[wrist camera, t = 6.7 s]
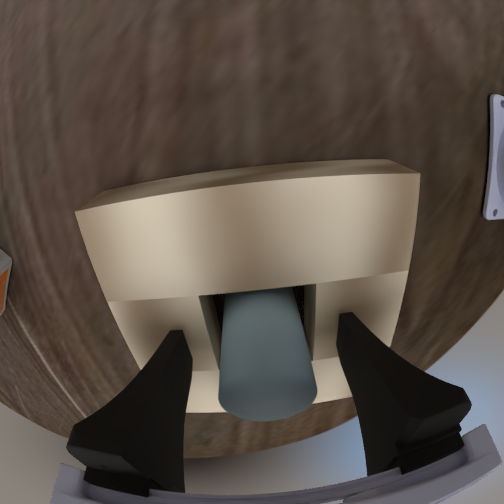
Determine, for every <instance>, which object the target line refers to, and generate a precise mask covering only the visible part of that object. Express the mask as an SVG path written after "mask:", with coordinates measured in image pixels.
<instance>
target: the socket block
mask: <svg viewBox="0 0 504 504" xmlns="http://www.w3.org/2000/svg"><path fill="white" fill-rule="evenodd" d="M419 187H420V173H418V172H416V171H414V170H412V169H409V168H407V167H405V166H403V165H400V164H398V163H396V162H393V161H391V160H389V159H363V160H332V161H313V162H298V163H285V164H273V165H263V166H253V167H243V168H235V169H227V170H219V171H211V172H204V173H197V174H191V175H184V176H178V177H172V178H166V179H160V180H155V181H149V182H144V183H139V184H134V185H129V186H124V187H119V188H114V189H110V190H105V191H103V192H102V193H100V194H99V195H97V196H96V197H94V198H93V199H92V200H90V201H89V202H87V203H86V204H85V205H83V206H82V207H80V208H79V209H78V210H76V211H75V214H76V217H77V221H78V224H79V227H80V230H81V233H82V236H83V240H84V242H85V245H86V248H87V251H88V254H89V257H90V260H91V262H92V265H93V268H94V270H95V273H96V275H97V278H98V281H99V283H100V286H101V288H102V290H103V293H104V295H105V298H106V300H107V302H108V304H109V307H110V309H111V311H112V313H113V316H114V318H115V320H116V322H117V324H118V326H119V329H120V331H121V333H122V335H123V337H124V339H125V341H126V343H127V345H128V347H129V349H130V351H131V353H132V354H133V356H134V358H135V360H136V362H137V364H138V366H139V367H140V369H141V370H142V368H143V367H144V366H145V365H146V363H147V362H148V361H149V359H150V358H151V357H152V355H153V354H154V353H155V351H156V350H157V348H158V347H159V345H160V344H161V343H162V341H163V340H164V338H165V337H166V335H167V334H168V332H169V331H170V330H183V332H184V335H185V338H186V341H187V344H188V347H189V349H190V352H191V355H192V358H193V369H192V380H191V386H190V392H189V397H188V403H187V408H186V412H227V411H225V410H224V409H223V408H222V406H221V405H220V403H219V400H218V391H219V374H220V358H221V342H222V333H221V328H220V324H219V320H218V315H217V311H216V307H215V302H214V298H213V294H223V293H234V292H244V291H254V290H263V289H273V288H282V287H290V286H299V285H304V324H302V326H303V330H304V334H305V338H306V342H307V346H308V351H309V355H310V359H311V363H312V367H313V371H314V376H315V380H316V384H317V389H318V392H317V396H316V398H315V400H314V402H313V403H319V402H325V401H331V400H336V399H341V398H346V397H351V396H352V394H351V391H350V388H349V385H348V383H347V380H346V377H345V375H344V372H343V369H342V367H341V364H340V360H339V356H338V352H337V347H336V339H337V330H338V321H339V314H340V313H347V312H353V313H354V314H355V315H356V316H357V317H358V318H359V319H360V320H361V321H362V322H363V323H364V325H365V326H366V327H367V328H368V329H369V330H370V331H371V332H373V333H374V334H375V335H376V336H377V337H378V338H379V339H380V340H381V341H382V342H383V343H384V344H386V345H387V346H388V347H389V348H390V345H391V342H392V338H393V335H394V331H395V327H396V324H397V320H398V316H399V312H400V308H401V304H402V299H403V295H404V290H405V286H406V281H407V276H408V271H409V265H410V260H411V254H412V248H413V241H414V234H415V227H416V219H417V210H418V199H419ZM313 403H312V404H313Z"/></svg>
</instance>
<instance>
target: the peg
mask: <svg viewBox="0 0 504 504" xmlns="http://www.w3.org/2000/svg"><path fill="white" fill-rule="evenodd" d="M317 392H318V389H317V384H316V380H315V376H314V371H313V367H312V363H311V359H310V355H309V351H308V346H307V342H306V338H305V334H304V330H303V326H302V322H301V318H300V314H299V310H298V306H297V302H296V299H295V295H294V291H293V287H292V286H290V287H282V288H273V289H263V290H254V291H244V292H234V293H225V301H224V314H223V328H222V342H221V358H220V374H219V391H218V400H219V403H220V405H221V406H222V408H223V409H224V410H225V411H227V412H228V413H230V414H231V415H233V416H236V417H238V418H241V419H245V420H251V421H274V420H280V419H284V418H288V417H291V416H293V415H296V414H298V413H300V412H302V411H303V410H305V409H306V408H308V407H309V406H310V405H311V404H312V403H313V402H314V400H315V398H316V396H317Z"/></svg>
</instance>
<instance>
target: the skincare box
mask: <svg viewBox="0 0 504 504" xmlns="http://www.w3.org/2000/svg"><path fill="white" fill-rule="evenodd" d="M11 266H12V258H11V257H10V256H8V255H7V254H6V253H5V252H4V251H3V250H2V249H1V248H0V315H1V314H2V313H3V312H4V310H5V308H6V307H5V306H6V296H7V288H8V282H9V276H10V271H11Z"/></svg>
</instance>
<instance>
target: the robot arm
mask: <svg viewBox="0 0 504 504" xmlns="http://www.w3.org/2000/svg"><path fill="white" fill-rule="evenodd" d="M483 216H484V218H486V219H487V220H495V219H504V97H503V96H500V95H498V94H492V95H491V96H490V152H489V167H488V177H487V186H486V194H485V201H484V208H483ZM336 347H337V352H338V356H339V360H340V364H341V367H342V369H343V372H344V375H345V377H346V380H347V383H348V385H349V388H350V391H351V394H352V396H353V399H354V402H355V405H356V409H357V414H358V418H359V423H360V428H361V433H362V438H363V444H364V450H365V458H366V467H367V477H364V478H360V479H356V480H352V481H348V482H343V483H339V484H334V485H329V486H323V487H318V488H312V489H305V490H298V491H290V492H281V493H270V494H252V495H206V494H205V495H204V494H189V493H185V485H184V470H183V469H184V468H183V438H184V421H185V414H186V408H187V403H188V397H189V392H190V386H191V380H192V369H193V358H192V355H191V352H190V349H189V347H188V344H187V341H186V338H185V335H184V332H183V330H170V331H169V332H168V334H167V335H166V337H165V338H164V340H163V341H162V343H161V344H160V345H159V347H158V348H157V350H156V351H155V353H154V354H153V355H152V357H151V358H150V359H149V361H148V362H147V363H146V365H145V366H144V367H143V368H142V370H141V371H140V372H139V373H138V374H137V376H136V377H135V378H134V379H133V380H132V381H131V382H130V383H129V384H128V386H127V387H126V388H125V389H124V390H123V391H121V392H120V393H119V394H118V395H117V396H116V397H115V398H113V399H112V400H111V401H110V402H109V403H108V404H106V405H105V406H104V407H102V408H101V409H99V410H98V411H97V412H95V413H94V414H92V415H91V416H89V417H87V418H85V419H84V420H82V421H80V422H78V423H77V424H75V425H74V426H73V429H72V431H71V434H70V437H69V441H68V443H67V447H66V448H67V450H68V452H69V453H70V454H71V455H73V456H74V457H75V458H76V459H78V460H79V461H80V462H81V463H83V464H84V465H85V466H87V467H86V471H83V470H81V469H79V468H75V467H72V466H69V465H66V464H63V463H61V464H60V467H59V471H58V475H57V478H56V482H55V485H54V489H53V493H52V497H51V501H50V504H320V503H326V502H331V501H336V500H341V499H344V500H343V503H340V504H438V503H440V502H442V501H444V500H446V499H448V498H450V497H451V496H453V495H455V494H457V493H459V492H461V491H463V490H464V489H466V488H468V487H470V486H471V485H473V484H475V483H476V482H478V481H479V480H481V479H482V478H484V477H485V476H487V475H488V474H489V473H491V472H492V471H493V470H495V469H496V468H497V467H499V466H500V465H502V460H501V458H500V455H499V453H498V451H497V448H496V446H495V444H494V442H493V440H492V437H491V436H490V433H489V431H488V429H487V427H486V425H485V424H483V425H481V426H479V427H477V428H475V429H474V430H472V431H470V432H468V433H466V434H465V435H463V436H462V437H461V436H460V433H459V432H460V431H461V427H460V424H459V423H460V422H461V421H462V420H463V418H464V417H465V416H466V415H467V413H468V412H469V411H470V409H471V406H472V404H471V401H470V400H469V398H468V396H467V394H466V392H465V391H464V389H463V388H461V387H458V386H455V385H452V384H450V383H447V382H444V381H442V380H440V379H438V378H436V377H433V376H431V375H429V374H427V373H426V372H424V371H422V370H420V369H419V368H417V367H415V366H414V365H412V364H410V363H409V362H407V361H406V360H405V359H403V358H402V357H400V356H399V355H398V354H396V353H395V352H394V351H393V350H391V349H390V348H389V347H388V346H387V345H386V344H384V343H383V342H382V341H381V340H380V339H379V338H378V337H377V336H376V335H375V334H374V333H373V332H371V331H370V330H369V329H368V328H367V327H366V326H365V325H364V323H363V322H362V321H361V320H360V319H359V318H358V317H357V316H356V315H355V314H354V313H353V312H347V313H340V314H339V321H338V330H337V339H336Z"/></svg>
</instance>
